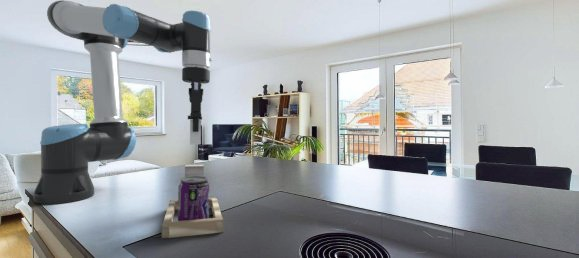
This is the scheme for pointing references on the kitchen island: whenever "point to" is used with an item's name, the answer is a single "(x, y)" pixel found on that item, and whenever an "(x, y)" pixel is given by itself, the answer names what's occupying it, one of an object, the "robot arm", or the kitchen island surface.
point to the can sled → (192, 226)
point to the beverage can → (193, 198)
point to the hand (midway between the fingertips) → (195, 142)
